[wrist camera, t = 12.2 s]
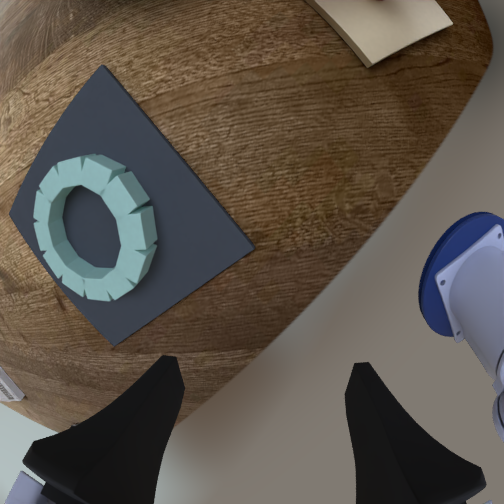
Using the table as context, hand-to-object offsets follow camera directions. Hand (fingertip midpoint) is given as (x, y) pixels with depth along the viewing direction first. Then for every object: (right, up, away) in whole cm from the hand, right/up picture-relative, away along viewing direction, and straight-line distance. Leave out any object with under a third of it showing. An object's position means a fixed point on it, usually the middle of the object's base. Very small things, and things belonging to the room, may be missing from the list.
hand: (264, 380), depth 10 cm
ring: (-13, +7, +8) cm, 17 cm away
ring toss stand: (+8, +23, +1) cm, 24 cm away
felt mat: (-13, +7, +10) cm, 18 cm away
